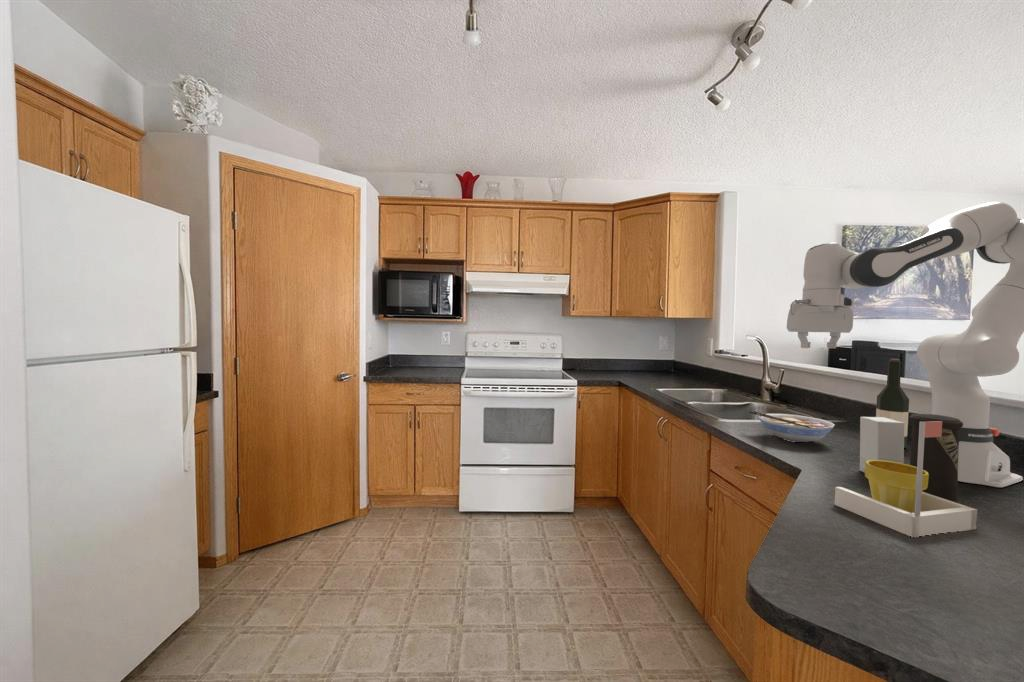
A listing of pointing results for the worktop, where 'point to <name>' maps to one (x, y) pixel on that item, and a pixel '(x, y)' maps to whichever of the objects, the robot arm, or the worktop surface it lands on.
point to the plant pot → (894, 483)
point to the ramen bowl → (795, 426)
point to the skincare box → (881, 440)
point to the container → (938, 455)
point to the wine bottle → (894, 398)
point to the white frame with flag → (929, 509)
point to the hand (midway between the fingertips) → (818, 348)
